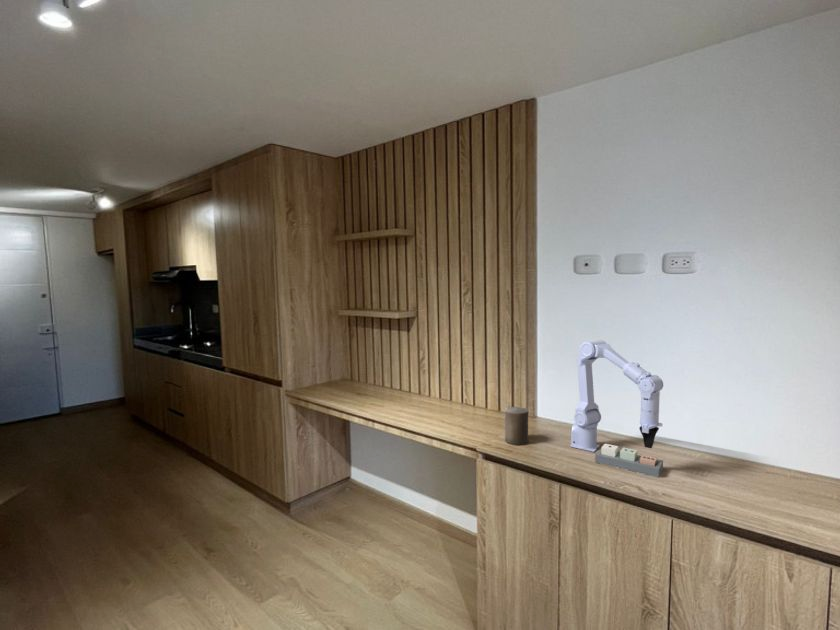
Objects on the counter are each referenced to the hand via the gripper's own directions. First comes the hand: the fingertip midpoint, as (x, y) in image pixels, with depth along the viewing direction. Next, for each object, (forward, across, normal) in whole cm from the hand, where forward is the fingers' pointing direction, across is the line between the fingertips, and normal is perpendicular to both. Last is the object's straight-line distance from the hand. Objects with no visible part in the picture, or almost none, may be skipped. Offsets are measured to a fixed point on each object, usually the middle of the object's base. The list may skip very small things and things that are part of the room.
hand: (648, 447), depth 154 cm
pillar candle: (+9, -2, +50) cm, 51 cm away
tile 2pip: (+7, 0, +6) cm, 9 cm away
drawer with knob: (+7, 0, +13) cm, 15 cm away
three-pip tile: (+8, 0, 0) cm, 8 cm away
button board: (+8, 0, +6) cm, 11 cm away
